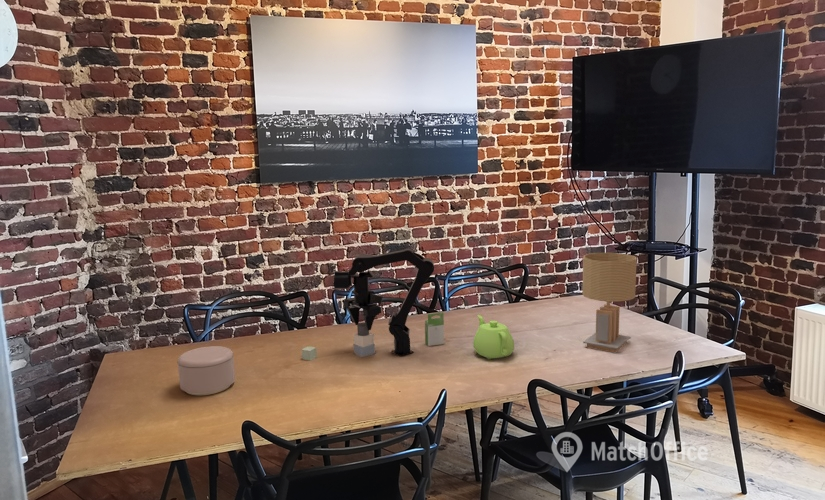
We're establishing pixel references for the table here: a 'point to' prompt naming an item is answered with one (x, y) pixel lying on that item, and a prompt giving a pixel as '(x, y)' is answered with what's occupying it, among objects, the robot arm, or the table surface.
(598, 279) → the desk lamp
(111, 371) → the table surface
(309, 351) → the sage block
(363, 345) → the tower top
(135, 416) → the table surface
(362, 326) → the dark grey cylinder
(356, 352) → the tower base
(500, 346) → the teapot
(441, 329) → the ink box
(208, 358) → the container
